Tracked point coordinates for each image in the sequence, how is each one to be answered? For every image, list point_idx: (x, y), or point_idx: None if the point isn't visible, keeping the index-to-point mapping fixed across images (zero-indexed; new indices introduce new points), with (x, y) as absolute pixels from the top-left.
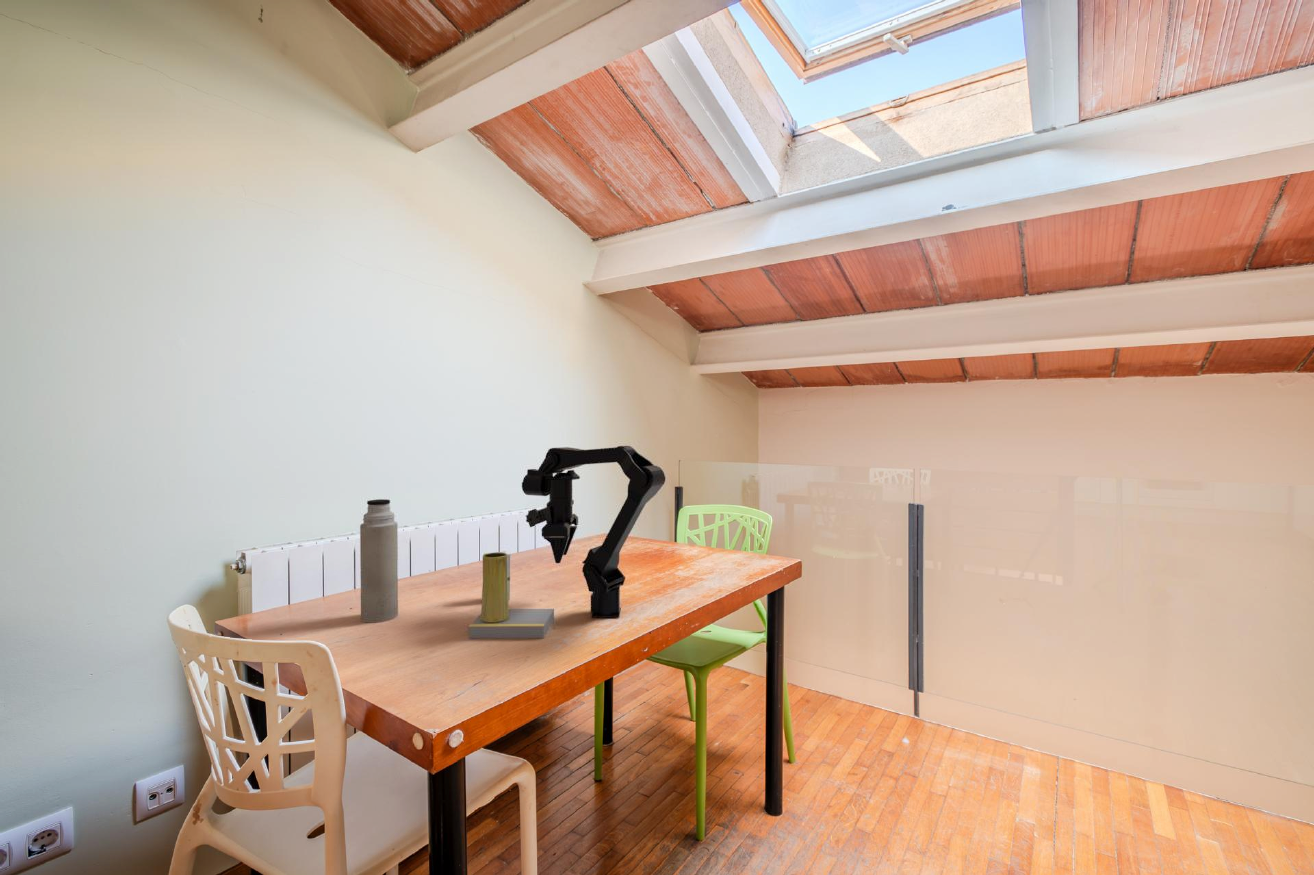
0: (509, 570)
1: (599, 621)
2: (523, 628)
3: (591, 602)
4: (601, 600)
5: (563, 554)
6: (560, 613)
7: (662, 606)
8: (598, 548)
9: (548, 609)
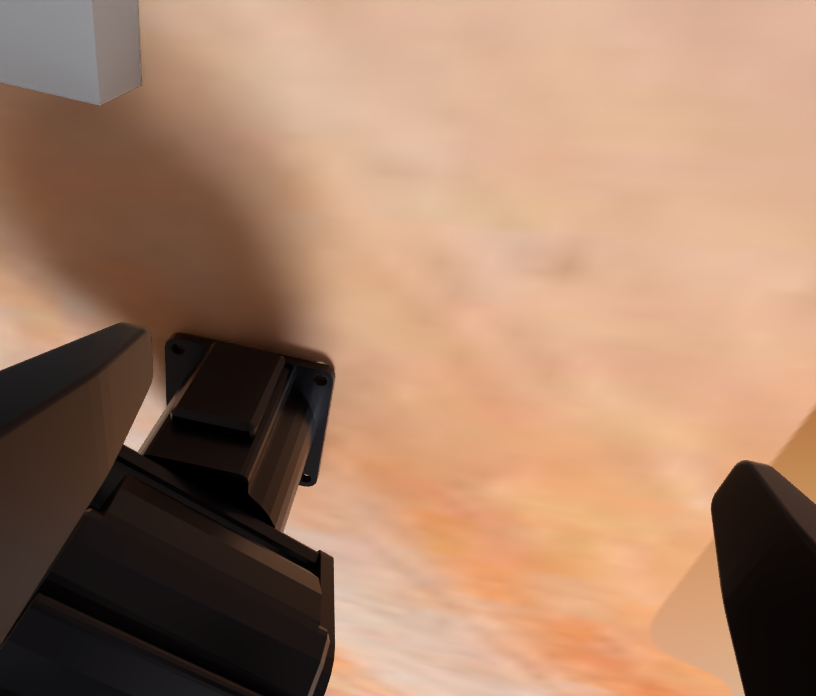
0: None
1: None
2: None
3: (187, 384)
4: (141, 446)
5: (732, 477)
6: (286, 142)
7: (342, 617)
8: None
9: (76, 54)
